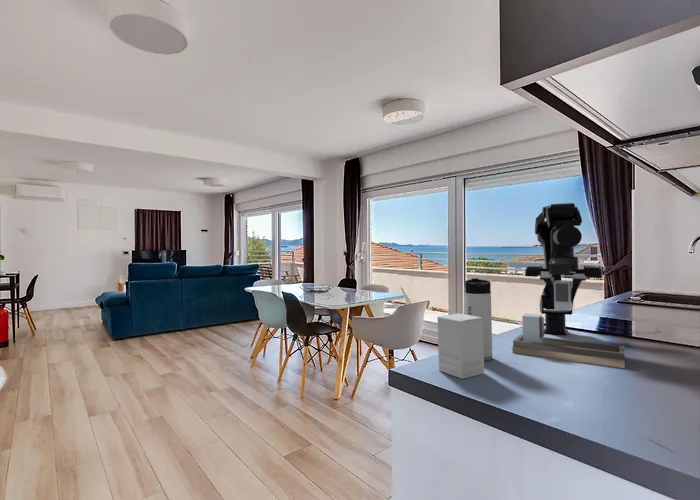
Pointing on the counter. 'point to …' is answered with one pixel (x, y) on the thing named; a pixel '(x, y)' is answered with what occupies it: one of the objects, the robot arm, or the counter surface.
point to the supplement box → (461, 345)
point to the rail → (572, 351)
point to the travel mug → (480, 309)
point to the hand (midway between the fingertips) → (563, 302)
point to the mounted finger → (533, 328)
